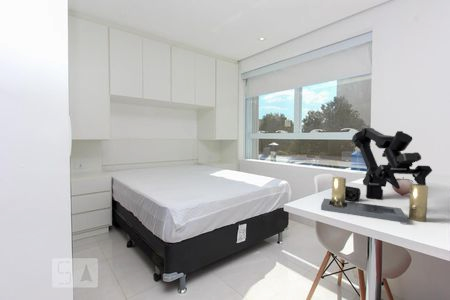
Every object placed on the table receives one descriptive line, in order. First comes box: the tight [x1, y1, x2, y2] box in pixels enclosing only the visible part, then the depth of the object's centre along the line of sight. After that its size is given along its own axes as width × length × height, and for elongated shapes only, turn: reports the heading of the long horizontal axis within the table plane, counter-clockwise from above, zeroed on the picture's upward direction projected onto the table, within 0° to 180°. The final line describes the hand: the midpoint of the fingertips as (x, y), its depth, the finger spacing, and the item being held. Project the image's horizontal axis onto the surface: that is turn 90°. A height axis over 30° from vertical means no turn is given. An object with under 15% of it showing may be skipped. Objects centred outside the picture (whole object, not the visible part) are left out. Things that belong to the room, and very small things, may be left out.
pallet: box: [320, 198, 408, 225], centre depth 91 cm, size 28×12×2 cm, turn 61°
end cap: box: [345, 185, 362, 202], centre depth 110 cm, size 10×7×7 cm
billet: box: [331, 176, 347, 207], centre depth 94 cm, size 5×5×13 cm
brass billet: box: [408, 183, 429, 223], centre depth 83 cm, size 5×5×13 cm
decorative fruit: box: [391, 176, 414, 196], centre depth 118 cm, size 9×8×10 cm
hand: (411, 188), depth 87 cm, fingers open, 9 cm apart
